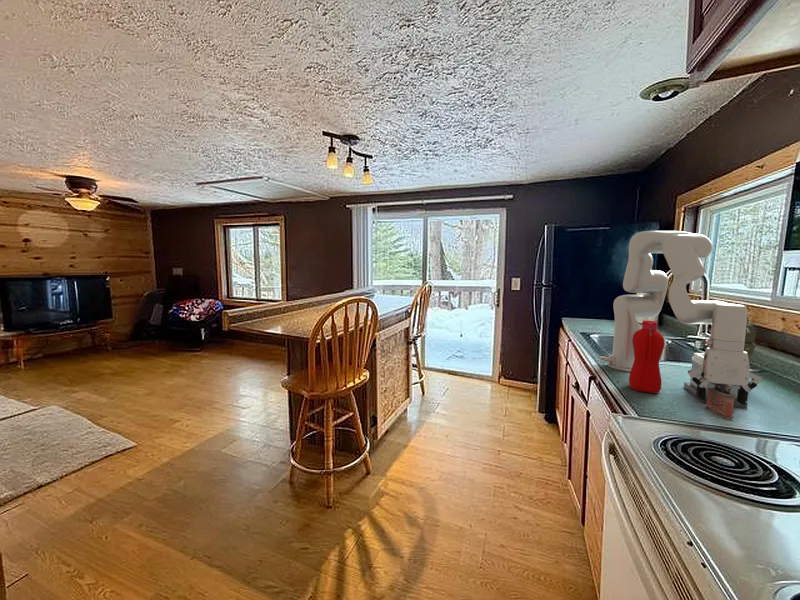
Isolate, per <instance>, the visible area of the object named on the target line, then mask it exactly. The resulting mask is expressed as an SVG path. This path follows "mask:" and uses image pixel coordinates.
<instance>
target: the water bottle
mask: <svg viewBox="0 0 800 600" xmlns="http://www.w3.org/2000/svg"><path fill="white" fill-rule="evenodd" d="M657 328H658V322H657V321H656V320H655V321H654V320H642V323H641V329H640V330H638V331H636V332H635V333H634V335H633V340H632V343H633V349H634V359H635V360H634V363H633V366H632V369H631V371H629V376H628V383H629V388H631V389H632V390H633V389H634V391H636V390H637V391H636V392H641V391H642V393H643V392H644V393H647V394H648V393H649V394H657V393H660V391H661V389H662V376H661V369H660V359H661V356H662V354H663V351H664V349H665V338H664V335H663V334H662V333H661V332H660V331H658V330H657Z"/></svg>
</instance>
